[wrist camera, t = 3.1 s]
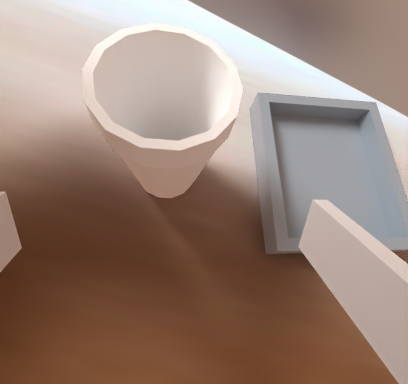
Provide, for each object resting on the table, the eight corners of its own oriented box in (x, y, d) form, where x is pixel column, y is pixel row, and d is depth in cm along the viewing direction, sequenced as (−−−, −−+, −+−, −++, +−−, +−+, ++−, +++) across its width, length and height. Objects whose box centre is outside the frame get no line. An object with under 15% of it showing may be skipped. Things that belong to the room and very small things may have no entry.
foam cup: (222, 158, 28) (264, 66, 16) (185, 228, 25) (202, 179, 13) (150, 121, 28) (137, 3, 16) (103, 185, 25) (43, 98, 13)
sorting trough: (265, 254, 25) (277, 251, 22) (249, 109, 31) (258, 92, 28) (396, 252, 27) (422, 249, 24) (358, 117, 33) (375, 102, 30)
